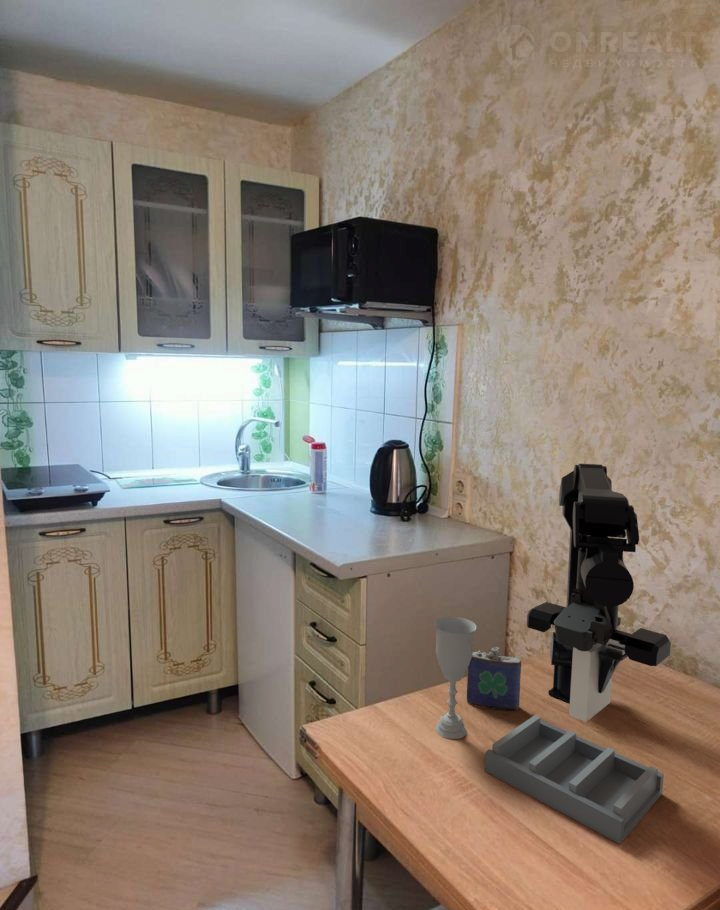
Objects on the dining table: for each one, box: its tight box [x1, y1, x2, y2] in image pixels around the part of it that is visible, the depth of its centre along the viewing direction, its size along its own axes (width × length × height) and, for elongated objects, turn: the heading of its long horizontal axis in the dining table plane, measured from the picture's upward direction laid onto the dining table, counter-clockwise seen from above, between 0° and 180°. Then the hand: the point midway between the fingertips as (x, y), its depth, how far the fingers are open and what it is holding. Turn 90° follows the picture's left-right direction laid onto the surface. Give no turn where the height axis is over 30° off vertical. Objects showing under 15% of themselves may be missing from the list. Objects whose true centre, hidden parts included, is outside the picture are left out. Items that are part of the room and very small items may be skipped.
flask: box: [466, 646, 522, 712], centre depth 110 cm, size 9×3×11 cm, turn 74°
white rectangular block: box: [568, 643, 613, 723], centre depth 89 cm, size 2×8×10 cm, turn 135°
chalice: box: [433, 616, 477, 740], centre depth 101 cm, size 7×7×18 cm
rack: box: [484, 714, 665, 845], centre depth 89 cm, size 20×14×4 cm
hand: (591, 688), depth 89 cm, fingers closed on white rectangular block, 2 cm apart
